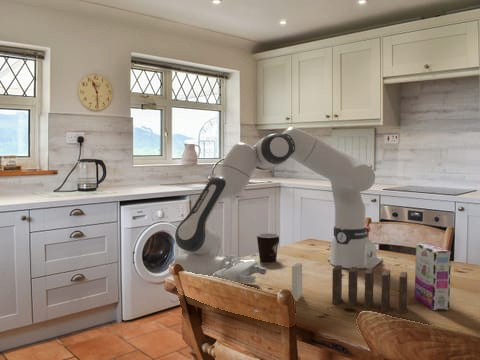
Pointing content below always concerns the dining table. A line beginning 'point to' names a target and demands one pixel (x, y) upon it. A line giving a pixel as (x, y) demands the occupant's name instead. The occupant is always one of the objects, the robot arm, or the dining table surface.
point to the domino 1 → (337, 284)
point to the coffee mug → (267, 247)
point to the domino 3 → (369, 288)
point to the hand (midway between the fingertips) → (260, 275)
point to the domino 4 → (385, 290)
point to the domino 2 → (352, 286)
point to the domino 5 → (403, 292)
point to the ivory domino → (297, 281)
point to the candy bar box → (432, 276)
